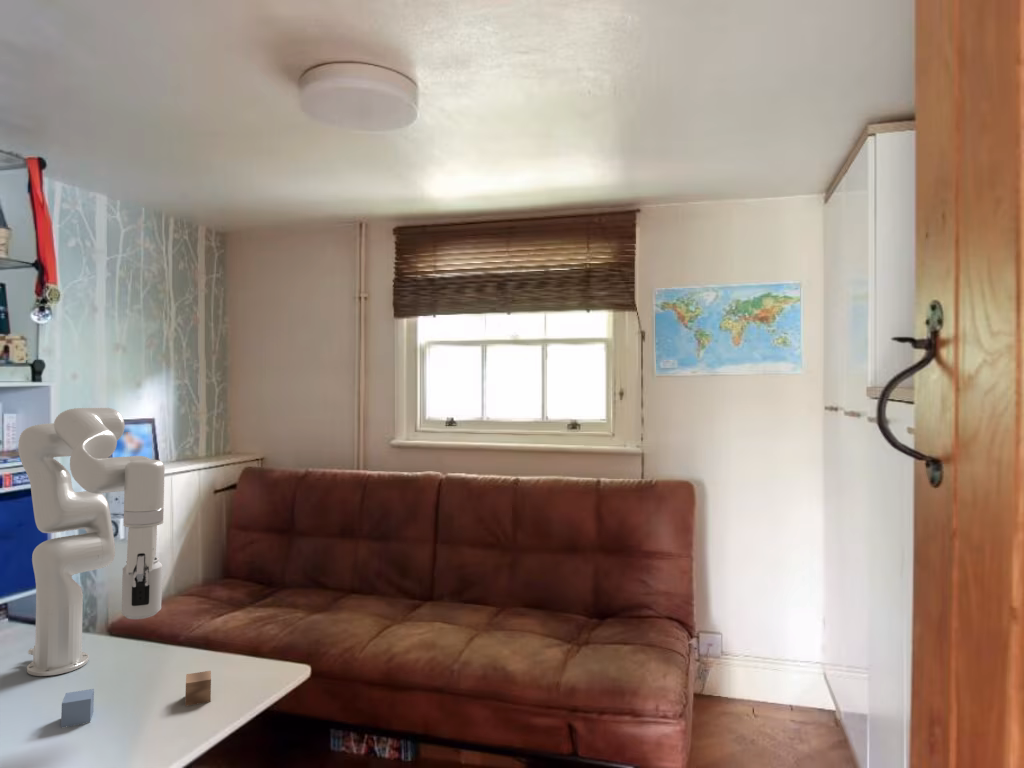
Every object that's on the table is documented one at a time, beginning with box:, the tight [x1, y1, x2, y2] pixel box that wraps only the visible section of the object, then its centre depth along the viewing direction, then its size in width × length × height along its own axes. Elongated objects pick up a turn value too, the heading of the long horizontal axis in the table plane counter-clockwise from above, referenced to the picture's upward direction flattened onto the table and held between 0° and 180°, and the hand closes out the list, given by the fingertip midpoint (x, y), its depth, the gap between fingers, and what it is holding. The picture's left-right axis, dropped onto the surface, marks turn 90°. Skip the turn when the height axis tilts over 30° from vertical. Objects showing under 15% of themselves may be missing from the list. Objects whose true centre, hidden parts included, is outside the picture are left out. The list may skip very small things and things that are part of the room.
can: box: [121, 556, 163, 620], centre depth 142 cm, size 8×8×12 cm
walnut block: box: [184, 670, 212, 707], centre depth 147 cm, size 5×5×5 cm
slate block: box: [60, 688, 95, 728], centre depth 137 cm, size 5×5×5 cm
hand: (141, 598), depth 142 cm, fingers closed on can, 7 cm apart
